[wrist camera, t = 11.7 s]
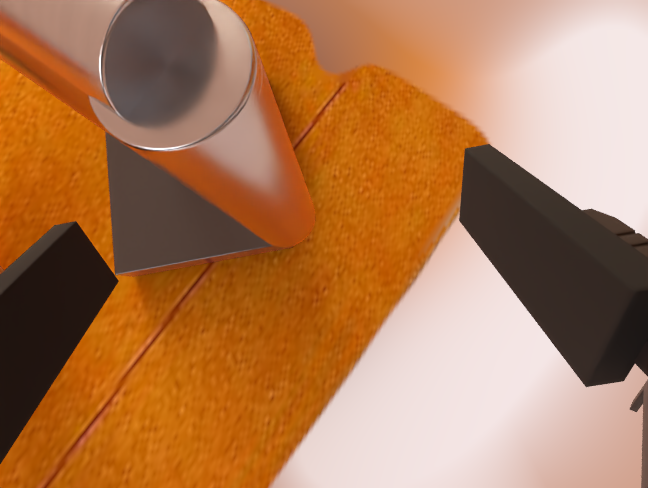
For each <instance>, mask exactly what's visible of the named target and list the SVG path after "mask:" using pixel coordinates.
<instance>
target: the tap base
mask: <svg viewBox="0 0 648 488" xmlns="http://www.w3.org/2000/svg"><path fill="white" fill-rule="evenodd" d="M105 133H106V148H107V163H108V178H109V192H110V207H111V222H112V236H113V251H114V266H115V275H121V276H132V277H135V276H140V275H146V274H151V273H156V272H162V271H167V270H173V269H178V268H184V267H189V266H195V265H200V264H206V263H211V262H216V261H222V260H227V259H233V258H238V257H244V256H249V255H255V254H260V253H265V252H271V251H276V250H282V249H287V248H293V246H291V247H277V246H273V245H271V244H269V243H267V242H266V241H264V240H263V239H261V238H260V237H258V236H257V235H255V234H254V233H253V232H251V231H250V230H248V229H247V228H245V227H244V226H242V225H241V224H239V223H238V222H237V221H235V220H234V219H232V218H231V217H229V216H228V215H226V214H225V213H223V212H222V211H221V210H219V209H218V208H216V207H215V206H213V205H212V204H210V203H209V202H207V201H206V200H205V199H203V198H202V197H200V196H199V195H197V194H196V193H194V192H193V191H191V190H190V189H189V188H187V187H186V186H184V185H183V184H181V183H180V182H178V181H177V180H175V179H174V178H173V177H171V176H170V175H168V174H167V173H165V172H164V171H162V170H161V169H159V168H158V167H157V166H155V165H154V164H152V163H151V162H149V161H148V160H146V159H145V158H143V157H142V156H141V155H139V154H138V153H136V152H135V151H133V150H132V149H130V148H129V147H127V146H126V145H125V144H123V143H122V142H120V141H119V140H117V139H116V138H114V137H113V136H112V135H110V134H109V133H107V132H106V131H105Z"/></svg>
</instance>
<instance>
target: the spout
mask: <svg viewBox="0 0 648 488" xmlns="http://www.w3.org/2000/svg"><path fill="white" fill-rule="evenodd" d="M0 59H1V60H2V61H4V62H5V63H7V64H8V65H10V66H11V67H13V68H14V69H16V70H17V71H18V72H20V73H21V74H23V75H24V76H26V77H27V78H29V79H30V80H32V81H33V82H34V83H36V84H37V85H39V86H40V87H42V88H43V89H45V90H46V91H48V92H49V93H50V94H52V95H53V96H55V97H56V98H58V99H59V100H61V101H62V102H64V103H65V104H66V105H68V106H69V107H71V108H72V109H74V110H75V111H77V112H78V113H80V114H81V115H82V116H84V117H85V118H87V119H88V120H90V121H91V122H93V123H94V124H96V125H97V126H98V127H100V128H101V129H103V130H104V131H106V132H107V133H109V134H110V135H112V136H113V137H114V138H116V139H117V140H119V141H120V142H122V143H123V144H125V145H126V146H127V147H129V148H130V149H132V150H133V151H135V152H136V153H138V154H139V155H141V156H142V157H143V158H145V159H146V160H148V161H149V162H151V163H152V164H154V165H155V166H157V167H158V168H159V169H161V170H162V171H164V172H165V173H167V174H168V175H170V176H171V177H173V178H174V179H175V180H177V181H178V182H180V183H181V184H183V185H184V186H186V187H187V188H189V189H190V190H191V191H193V192H194V193H196V194H197V195H199V196H200V197H202V198H203V199H205V200H206V201H207V202H209V203H210V204H212V205H213V206H215V207H216V208H218V209H219V210H221V211H222V212H223V213H225V214H226V215H228V216H229V217H231V218H232V219H234V220H235V221H237V222H238V223H239V224H241V225H242V226H244V227H245V228H247V229H248V230H250V231H251V232H253V233H254V234H255V235H257V236H258V237H260V238H261V239H263V240H264V241H266V242H267V243H269V244H271V245H273V246H277V247H291V246H294V245H297V244H299V243H300V242H302V241H303V240H305V239H306V238H307V237H308V235H309V234H310V233H311V231H312V229H313V227H314V224H315V218H316V214H315V208H314V205H313V202H312V199H311V197H310V194H309V191H308V188H307V186H306V183H305V180H304V177H303V175H302V172H301V169H300V166H299V164H298V161H297V158H296V155H295V153H294V150H293V147H292V144H291V142H290V139H289V136H288V133H287V131H286V128H285V125H284V122H283V120H282V117H281V114H280V111H279V109H278V106H277V103H276V100H275V98H274V95H273V92H272V89H271V87H270V84H269V81H268V78H267V76H266V73H265V70H264V67H263V65H262V62H261V59H260V56H259V54H258V51H257V48H256V45H255V43H254V40H253V37H252V35H251V33H250V31H249V29H248V27H247V26H246V24H245V23H244V22H243V20H242V19H241V18H240V17H239V16H238V15H237V14H236V13H235V12H234V11H233V10H232V9H231V8H229V7H228V6H227V5H225V4H224V3H222V2H220V1H218V0H0Z"/></svg>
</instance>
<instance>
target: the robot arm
mask: <svg viewBox="0 0 648 488" xmlns="http://www.w3.org/2000/svg"><path fill="white" fill-rule="evenodd" d="M459 221H460V222H461V223H462V225H463V226H464V227H465V229H466V230H467V231H468V233H469V234H470V235H471V237H472V238H473V239H474V240H475V242H476V243H477V244H478V246H479V247H480V248H481V250H482V251H483V252H484V254H485V255H486V256H487V258H488V259H489V260H490V262H491V263H492V264H493V265H494V267H495V268H496V269H497V271H498V272H499V273H500V275H501V276H502V277H503V279H504V280H505V281H506V282H507V284H508V285H509V286H510V288H511V289H512V290H513V292H514V293H515V294H516V296H517V297H518V298H519V300H520V301H521V302H522V304H523V305H524V306H525V307H526V309H527V310H528V311H529V313H530V314H531V315H532V317H533V318H534V319H535V321H536V322H537V323H538V325H539V326H540V327H541V328H542V330H543V331H544V332H545V334H546V335H547V336H548V338H549V339H550V340H551V342H552V343H553V344H554V346H555V347H556V348H557V350H558V351H559V352H560V353H561V355H562V356H563V357H564V359H565V360H566V361H567V363H568V364H569V365H570V366H571V368H572V369H573V371H574V372H575V373H576V374H577V376H578V377H579V378H580V380H581V381H582V382H583V384H584V385H585V386H586V387H589V386H595V385H602V384H608V383H614V382H621V381H624V380H625V378H626V377H627V375H628V373H629V372H630V370H631V369H632V367H633V365H634V364H636V365H637V366H638V367H639V368H640V369H641V370H642V371H643V372H644V373H645V374H646V375H647V376H648V239H647V238H645V237H644V236H642V235H641V234H639V233H637V234H636V233H635V230H633V229H632V228H630V227H629V226H627V225H626V224H624V223H623V222H621V221H620V220H618V219H617V218H615V217H612V216H609V215H606V214H604V213H601V212H599V211H596V210H593V209H588V210H581V209H579V208H578V207H576V206H575V205H573V204H572V203H571V202H569V201H568V200H567V199H565V198H564V197H562V196H561V195H560V194H558V193H557V192H555V191H554V190H553V189H551V188H550V187H548V186H547V185H545V184H544V183H543V182H541V181H540V180H539V179H537V178H536V177H534V176H533V175H532V174H530V173H529V172H527V171H526V170H525V169H523V168H522V167H520V166H519V165H518V164H516V163H515V162H513V161H512V160H510V159H509V158H508V157H506V156H505V155H504V154H502V153H501V152H499V151H498V150H497V149H495V148H494V147H492V146H491V145H490V144H487V145H482V146H476V147H471V148H466V149H465V156H464V168H463V181H462V193H461V206H460V218H459ZM117 283H118V279H117V278H116V277H115V275H114V274H113V272H112V271H111V270H110V268H109V267H108V265H107V264H106V263H105V261H104V260H103V258H102V257H101V256H100V254H99V253H98V251H97V250H96V249H95V247H94V246H93V244H92V243H91V242H90V240H89V239H88V237H87V236H86V235H85V233H84V232H83V230H82V229H81V228H80V226H79V225H78V223H77V222H76V221H75V222H70V223H65V224H59V225H54V226H53V227H52V228H51V229H50V230H49V231H48V232H47V233H46V234H44V235H43V236H42V237H41V238H40V239H39V240H38V241H37V242H36V243H35V244H33V245H32V246H31V247H30V248H29V249H28V250H27V251H26V252H25V253H23V254H22V255H21V256H20V257H19V258H18V259H17V260H16V261H15V262H14V263H12V264H11V265H10V266H9V267H8V268H7V269H6V270H5V271H4V272H2V273H1V274H0V464H1V462H2V461H3V459H4V458H5V456H6V454H7V453H8V451H9V450H10V448H11V447H12V445H13V444H14V442H15V441H16V439H17V438H18V436H19V434H20V433H21V431H22V430H23V428H24V427H25V425H26V424H27V422H28V421H29V419H30V417H31V416H32V414H33V413H34V411H35V410H36V408H37V407H38V405H39V404H40V402H41V400H42V399H43V397H44V396H45V394H46V393H47V391H48V390H49V388H50V387H51V385H52V383H53V382H54V380H55V379H56V377H57V376H58V374H59V373H60V371H61V370H62V368H63V366H64V365H65V363H66V362H67V360H68V359H69V357H70V356H71V354H72V353H73V351H74V349H75V348H76V346H77V345H78V343H79V342H80V340H81V339H82V337H83V336H84V334H85V332H86V331H87V329H88V328H89V326H90V325H91V323H92V322H93V320H94V319H95V317H96V315H97V314H98V312H99V311H100V309H101V308H102V306H103V305H104V303H105V302H106V300H107V298H108V297H109V295H110V294H111V292H112V291H113V289H114V288H115V286H116V285H117ZM642 404H643V441H642V442H643V443H642V487H641V488H648V380H647V382H646V383H645V384H644V386H643V387H642V389H641V390H640V392H639V393H638V394H637V396H636V397H635V399H634V400H633V402H632V404H631V407H630V410H633V411H635V412H637V411H638V409H639V408H640V407H641V405H642Z"/></svg>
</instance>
